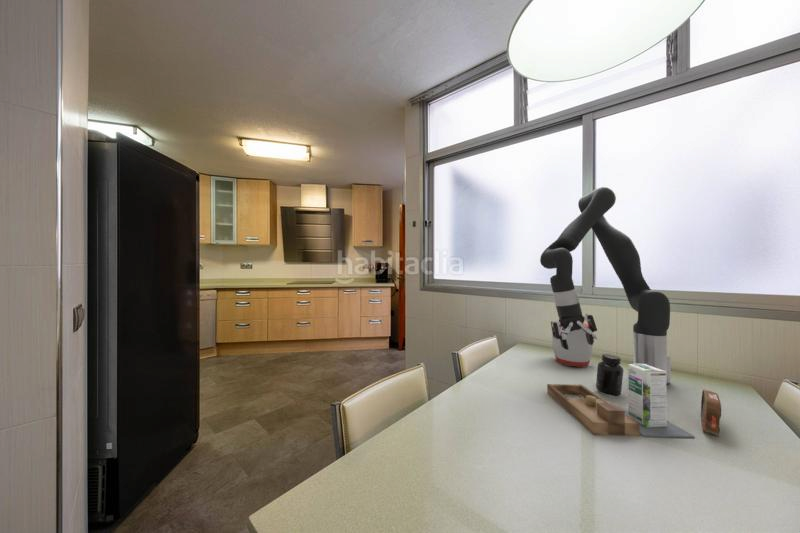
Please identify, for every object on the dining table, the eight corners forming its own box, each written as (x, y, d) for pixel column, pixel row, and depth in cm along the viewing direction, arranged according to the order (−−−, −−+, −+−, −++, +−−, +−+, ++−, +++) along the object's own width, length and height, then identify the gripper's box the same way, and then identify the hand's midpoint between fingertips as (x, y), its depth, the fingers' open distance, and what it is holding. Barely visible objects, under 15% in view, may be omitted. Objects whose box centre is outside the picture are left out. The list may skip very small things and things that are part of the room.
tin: (700, 414, 78) (699, 384, 78) (717, 418, 75) (716, 387, 76) (703, 437, 67) (702, 402, 67) (723, 442, 65) (722, 406, 65)
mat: (651, 412, 79) (651, 411, 79) (694, 437, 67) (694, 436, 67) (608, 411, 79) (608, 410, 79) (643, 436, 67) (643, 435, 67)
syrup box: (626, 416, 76) (626, 363, 76) (646, 415, 76) (646, 362, 76) (646, 428, 70) (645, 370, 70) (668, 427, 70) (667, 370, 71)
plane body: (581, 393, 91) (581, 375, 91) (639, 435, 68) (639, 411, 68) (547, 393, 91) (547, 375, 91) (593, 434, 68) (593, 410, 68)
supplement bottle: (612, 388, 94) (616, 353, 94) (626, 398, 88) (630, 361, 87) (591, 385, 95) (594, 351, 95) (602, 395, 89) (606, 358, 88)
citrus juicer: (600, 372, 109) (599, 322, 110) (550, 365, 118) (550, 318, 119) (597, 361, 123) (596, 316, 123) (552, 355, 132) (552, 313, 132)
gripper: (581, 297, 103) (592, 340, 102) (542, 305, 104) (553, 348, 103) (593, 299, 95) (605, 345, 95) (551, 308, 97) (563, 353, 96)
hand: (578, 346), depth 99 cm, fingers open, 8 cm apart
